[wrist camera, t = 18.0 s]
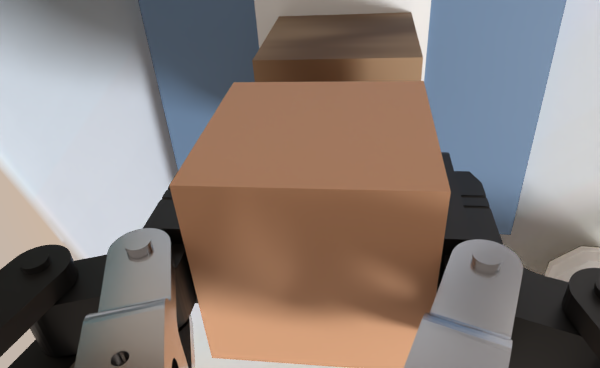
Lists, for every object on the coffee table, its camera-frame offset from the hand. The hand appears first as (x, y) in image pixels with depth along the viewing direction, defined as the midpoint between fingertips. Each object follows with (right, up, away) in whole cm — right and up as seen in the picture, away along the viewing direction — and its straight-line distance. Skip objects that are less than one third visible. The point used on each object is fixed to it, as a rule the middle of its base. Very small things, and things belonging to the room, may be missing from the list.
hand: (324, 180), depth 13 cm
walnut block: (+1, +4, +6) cm, 8 cm away
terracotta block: (0, +1, +1) cm, 1 cm away
